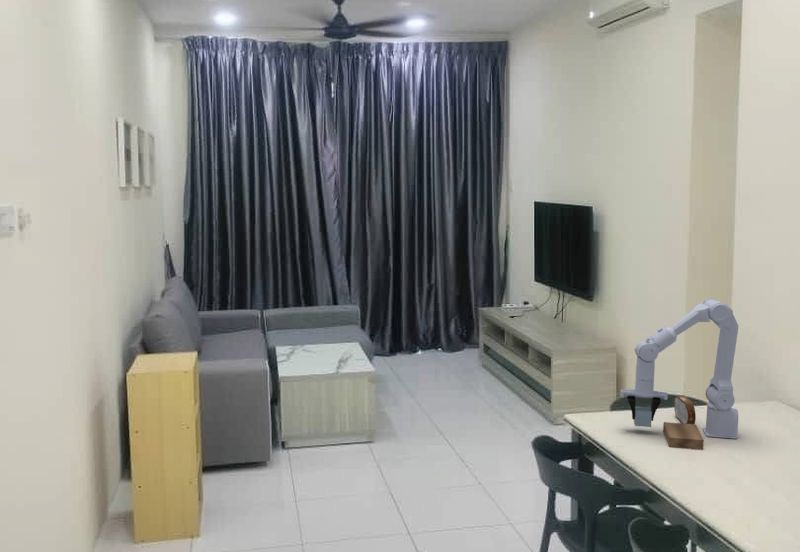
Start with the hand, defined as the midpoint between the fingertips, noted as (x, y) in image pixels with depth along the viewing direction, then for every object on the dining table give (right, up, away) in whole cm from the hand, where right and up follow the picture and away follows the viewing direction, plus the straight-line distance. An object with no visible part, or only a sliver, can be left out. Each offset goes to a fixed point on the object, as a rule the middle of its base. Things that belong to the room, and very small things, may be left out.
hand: (642, 419), depth 263 cm
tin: (+18, -3, +12) cm, 22 cm away
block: (0, -2, 0) cm, 2 cm away
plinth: (+11, -5, -7) cm, 14 cm away
